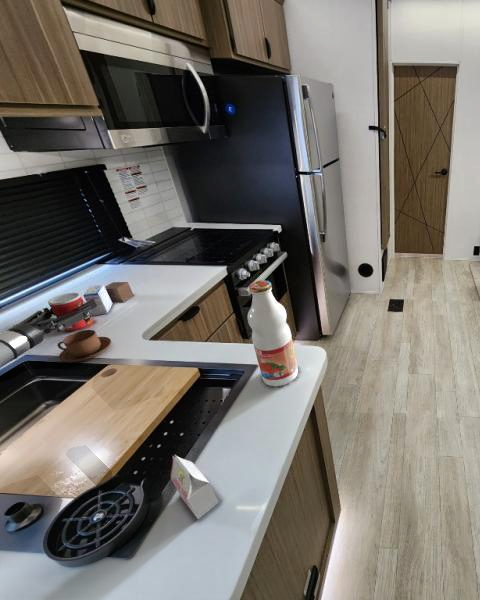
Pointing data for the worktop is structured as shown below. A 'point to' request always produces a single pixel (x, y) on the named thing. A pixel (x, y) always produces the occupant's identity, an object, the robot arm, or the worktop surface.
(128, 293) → the walnut block
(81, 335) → the cup and saucer
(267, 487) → the worktop surface
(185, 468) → the white carton box
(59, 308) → the canned food
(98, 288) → the medicine box
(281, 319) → the fruit juice
